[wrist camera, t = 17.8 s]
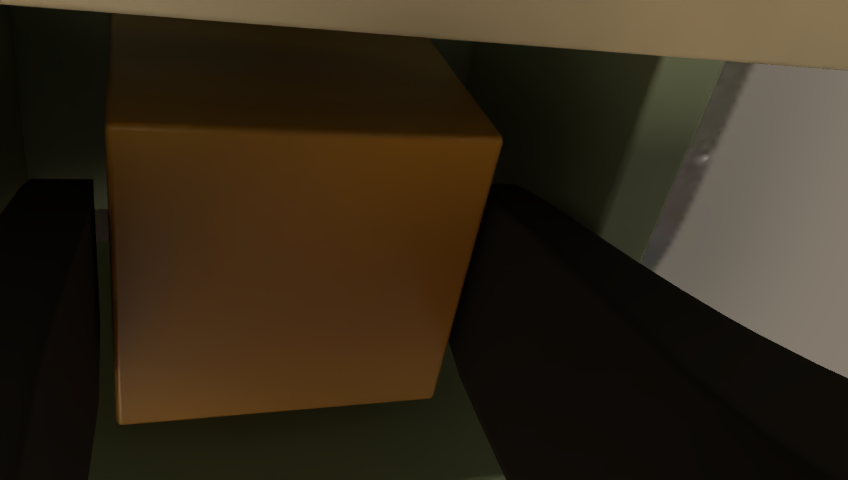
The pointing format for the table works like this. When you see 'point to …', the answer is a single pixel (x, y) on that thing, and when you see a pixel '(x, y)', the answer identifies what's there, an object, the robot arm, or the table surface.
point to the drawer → (517, 164)
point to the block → (284, 215)
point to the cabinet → (549, 23)
